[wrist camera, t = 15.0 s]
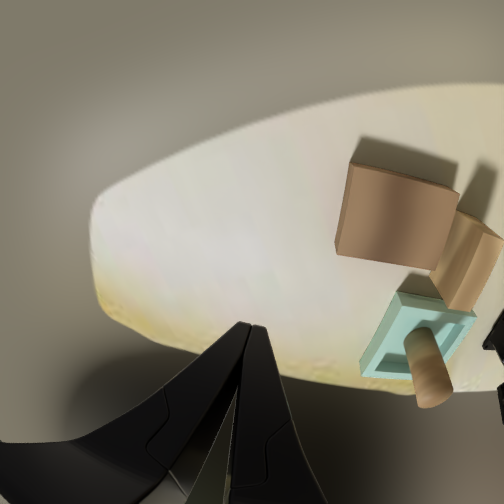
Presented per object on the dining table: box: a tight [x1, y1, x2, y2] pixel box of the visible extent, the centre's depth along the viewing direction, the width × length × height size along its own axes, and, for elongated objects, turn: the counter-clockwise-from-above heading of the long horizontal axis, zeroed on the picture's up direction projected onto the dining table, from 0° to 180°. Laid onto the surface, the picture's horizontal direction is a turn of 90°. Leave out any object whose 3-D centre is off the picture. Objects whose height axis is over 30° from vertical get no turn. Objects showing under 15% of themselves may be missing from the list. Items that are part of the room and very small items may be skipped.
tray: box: [359, 291, 477, 380], centre depth 21 cm, size 9×9×2 cm
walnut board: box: [334, 162, 460, 271], centre depth 17 cm, size 8×6×2 cm
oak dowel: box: [403, 327, 453, 408], centre depth 18 cm, size 3×3×7 cm
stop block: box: [429, 210, 504, 312], centre depth 15 cm, size 2×6×4 cm, turn 173°
